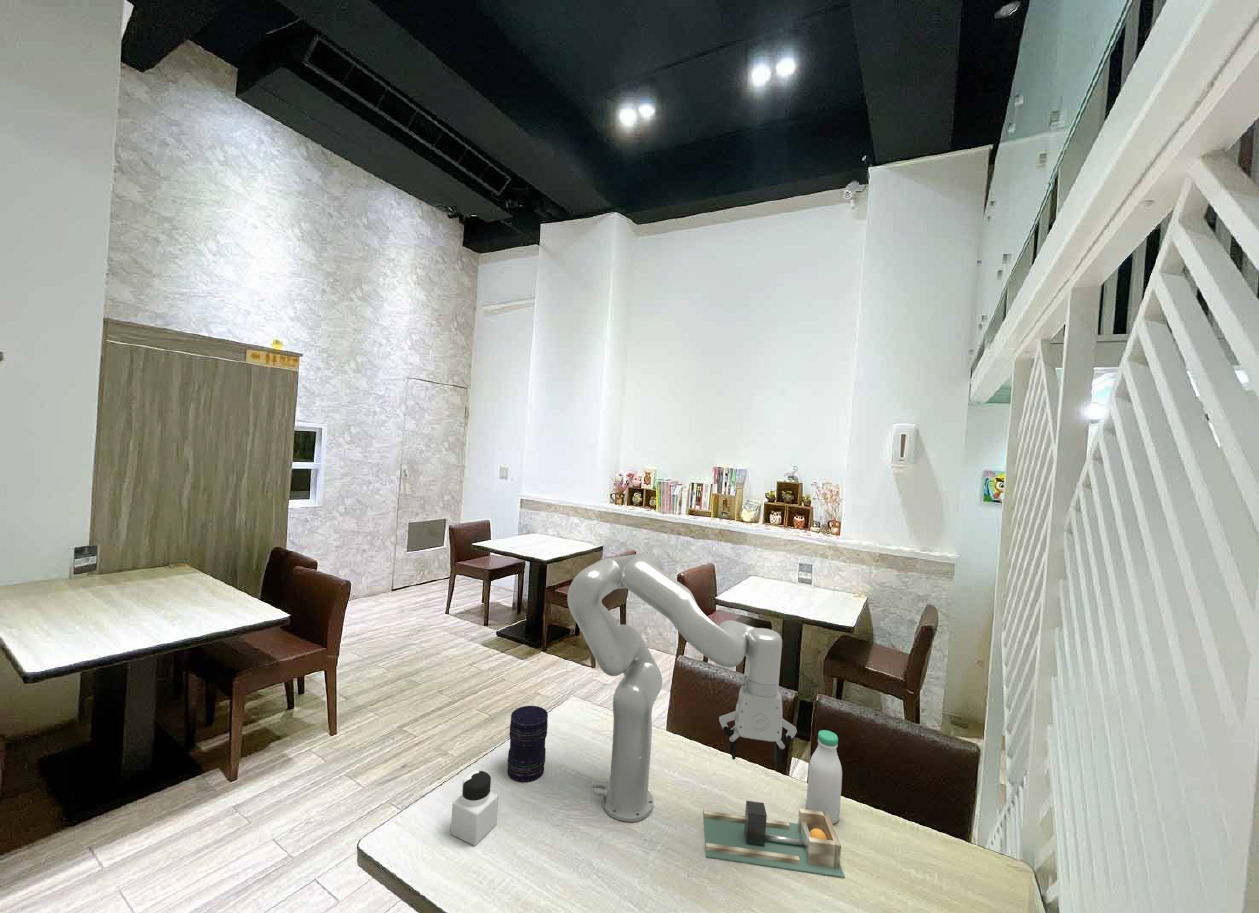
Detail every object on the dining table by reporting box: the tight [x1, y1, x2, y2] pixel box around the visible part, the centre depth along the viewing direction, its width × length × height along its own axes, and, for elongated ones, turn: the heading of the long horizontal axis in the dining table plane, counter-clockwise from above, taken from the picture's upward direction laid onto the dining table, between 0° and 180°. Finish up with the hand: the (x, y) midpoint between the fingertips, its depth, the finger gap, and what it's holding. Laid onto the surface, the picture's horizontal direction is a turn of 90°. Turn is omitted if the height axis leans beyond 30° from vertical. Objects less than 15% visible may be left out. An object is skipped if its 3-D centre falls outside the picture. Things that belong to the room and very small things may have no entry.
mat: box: [702, 810, 846, 879], centre depth 115 cm, size 29×14×1 cm, turn 84°
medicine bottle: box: [450, 770, 499, 847], centre depth 112 cm, size 7×7×12 cm
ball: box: [810, 828, 827, 840], centre depth 113 cm, size 4×4×4 cm
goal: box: [797, 808, 842, 869], centre depth 113 cm, size 6×10×5 cm, turn 174°
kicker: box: [744, 800, 811, 854], centre depth 114 cm, size 14×6×7 cm, turn 84°
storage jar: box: [507, 705, 549, 784], centre depth 134 cm, size 10×10×15 cm
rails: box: [703, 810, 800, 864], centre depth 115 cm, size 20×11×1 cm, turn 84°
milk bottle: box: [805, 729, 843, 825], centre depth 125 cm, size 8×8×20 cm
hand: (754, 759), depth 115 cm, fingers open, 9 cm apart
